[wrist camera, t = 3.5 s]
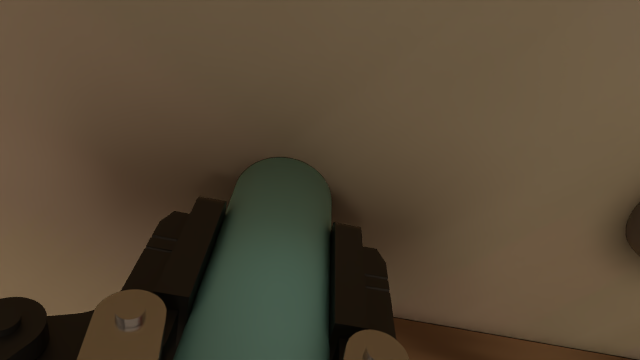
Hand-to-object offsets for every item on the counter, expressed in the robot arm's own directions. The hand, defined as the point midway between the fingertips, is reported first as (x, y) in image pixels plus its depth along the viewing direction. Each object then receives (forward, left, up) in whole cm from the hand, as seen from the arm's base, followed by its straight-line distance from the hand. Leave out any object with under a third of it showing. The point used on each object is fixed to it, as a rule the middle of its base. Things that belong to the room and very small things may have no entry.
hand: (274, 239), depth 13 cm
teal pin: (0, 0, -2) cm, 2 cm away
